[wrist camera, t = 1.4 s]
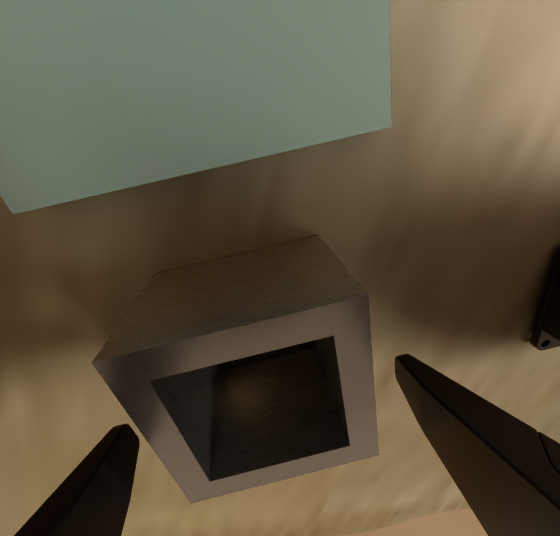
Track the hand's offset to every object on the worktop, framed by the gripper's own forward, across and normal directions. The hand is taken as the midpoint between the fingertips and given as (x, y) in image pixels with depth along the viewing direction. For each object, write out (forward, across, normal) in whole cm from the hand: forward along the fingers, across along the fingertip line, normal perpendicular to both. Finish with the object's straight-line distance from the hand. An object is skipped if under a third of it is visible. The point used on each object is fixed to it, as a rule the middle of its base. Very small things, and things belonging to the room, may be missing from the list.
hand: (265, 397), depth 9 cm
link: (+4, 0, 0) cm, 4 cm away
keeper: (+4, 0, -13) cm, 14 cm away
